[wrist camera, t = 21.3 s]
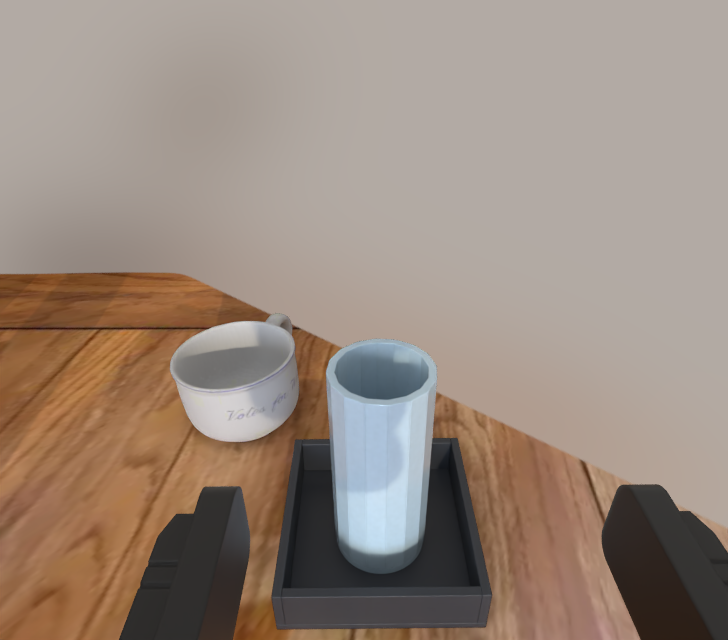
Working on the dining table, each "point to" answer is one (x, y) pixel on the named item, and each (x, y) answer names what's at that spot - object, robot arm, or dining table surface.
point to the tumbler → (380, 450)
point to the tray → (368, 590)
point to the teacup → (238, 378)
